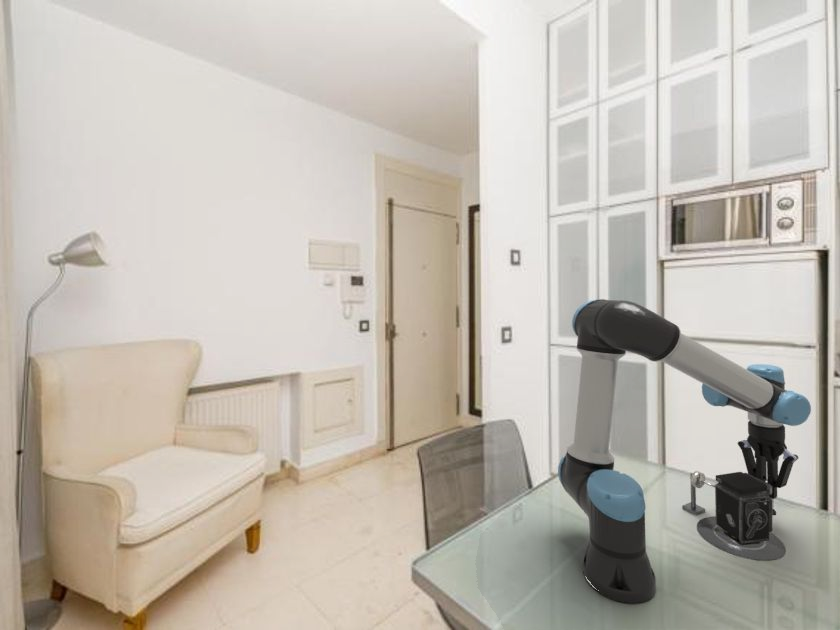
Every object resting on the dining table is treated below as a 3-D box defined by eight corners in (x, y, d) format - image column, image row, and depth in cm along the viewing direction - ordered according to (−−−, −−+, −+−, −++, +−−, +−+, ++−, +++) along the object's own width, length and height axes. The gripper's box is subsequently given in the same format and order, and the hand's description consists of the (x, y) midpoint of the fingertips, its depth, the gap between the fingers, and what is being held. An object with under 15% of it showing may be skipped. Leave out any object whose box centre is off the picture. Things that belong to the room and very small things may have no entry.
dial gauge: (712, 524, 109) (711, 481, 109) (681, 509, 117) (680, 469, 117) (722, 519, 111) (721, 477, 110) (691, 505, 119) (690, 465, 118)
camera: (784, 544, 99) (783, 486, 98) (744, 548, 98) (744, 490, 98) (746, 520, 110) (746, 468, 109) (711, 524, 109) (710, 471, 108)
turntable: (757, 569, 92) (757, 568, 92) (681, 528, 109) (681, 527, 109) (802, 546, 98) (801, 545, 98) (723, 510, 115) (723, 509, 115)
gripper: (804, 427, 101) (805, 515, 103) (747, 413, 113) (748, 493, 115) (787, 433, 99) (788, 523, 100) (730, 418, 111) (732, 499, 112)
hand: (767, 507), depth 108 cm, fingers closed
